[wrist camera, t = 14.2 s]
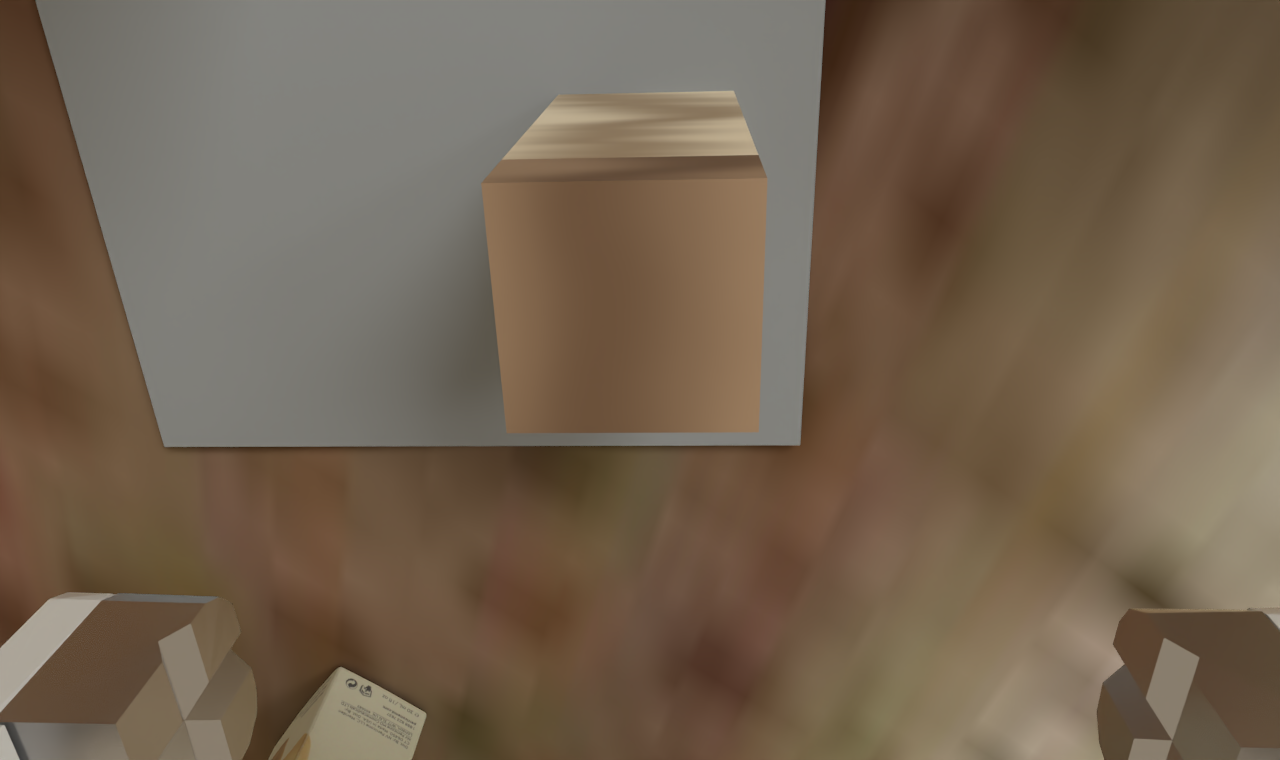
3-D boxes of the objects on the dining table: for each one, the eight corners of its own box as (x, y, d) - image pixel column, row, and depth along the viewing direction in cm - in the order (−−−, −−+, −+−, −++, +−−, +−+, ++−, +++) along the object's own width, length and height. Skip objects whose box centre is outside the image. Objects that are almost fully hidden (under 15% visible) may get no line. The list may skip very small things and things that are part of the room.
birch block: (733, 90, 25) (767, 178, 16) (730, 260, 28) (758, 432, 18) (558, 94, 26) (481, 182, 16) (569, 262, 28) (506, 433, 18)
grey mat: (832, -177, 23) (835, -180, 23) (798, 436, 31) (800, 445, 30) (7, -148, 24) (-8, -150, 24) (173, 438, 32) (164, 446, 31)
